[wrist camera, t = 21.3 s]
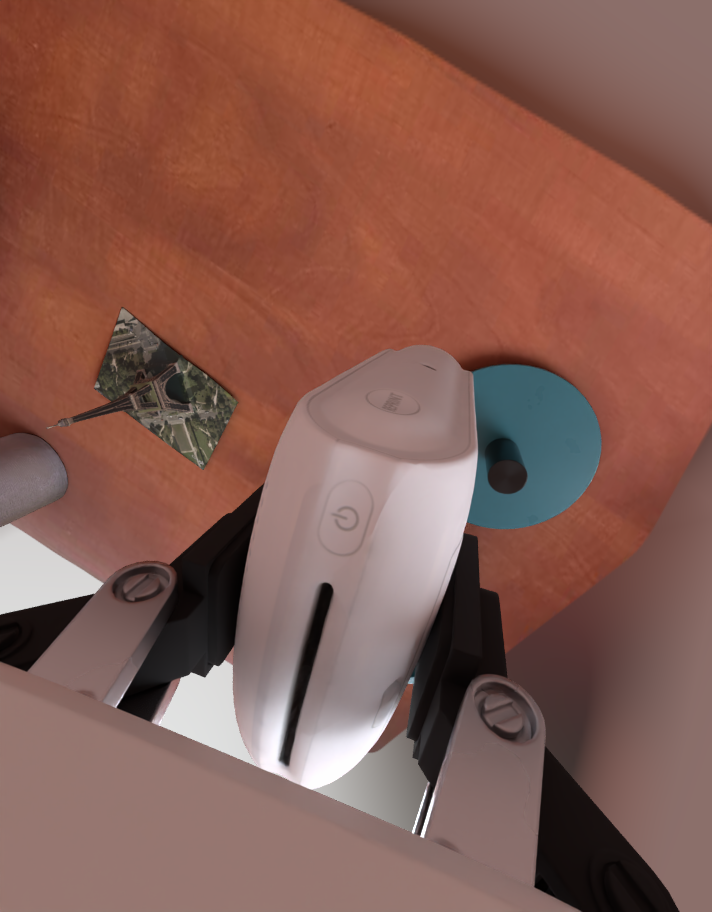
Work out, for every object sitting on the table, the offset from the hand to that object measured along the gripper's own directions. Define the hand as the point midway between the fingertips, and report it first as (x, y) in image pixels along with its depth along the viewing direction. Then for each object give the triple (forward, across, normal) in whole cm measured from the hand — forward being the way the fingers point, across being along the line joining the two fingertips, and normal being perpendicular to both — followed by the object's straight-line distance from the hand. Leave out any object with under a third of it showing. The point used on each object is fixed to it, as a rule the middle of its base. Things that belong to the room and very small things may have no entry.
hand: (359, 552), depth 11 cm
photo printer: (+8, 0, 0) cm, 8 cm away
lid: (+25, -7, +4) cm, 26 cm away
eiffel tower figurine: (+25, +27, +7) cm, 37 cm away
